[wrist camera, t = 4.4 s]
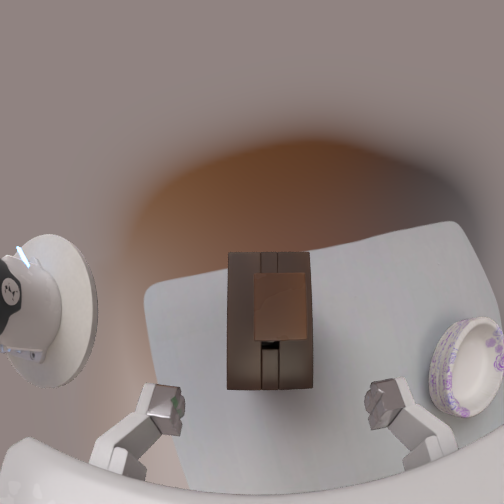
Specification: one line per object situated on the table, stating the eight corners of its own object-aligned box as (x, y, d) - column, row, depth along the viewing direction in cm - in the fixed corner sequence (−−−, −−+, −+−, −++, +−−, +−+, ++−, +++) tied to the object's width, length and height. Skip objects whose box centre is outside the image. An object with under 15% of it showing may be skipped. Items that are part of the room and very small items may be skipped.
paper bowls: (488, 360, 32) (517, 359, 24) (440, 426, 29) (468, 436, 22) (454, 303, 35) (484, 294, 28) (400, 370, 33) (429, 375, 25)
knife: (276, 310, 27) (305, 266, 10) (276, 340, 26) (307, 345, 10) (256, 310, 27) (253, 267, 10) (256, 340, 26) (253, 346, 10)
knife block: (285, 291, 37) (309, 251, 20) (286, 364, 34) (313, 388, 17) (242, 292, 37) (228, 251, 20) (241, 364, 34) (226, 390, 17)
